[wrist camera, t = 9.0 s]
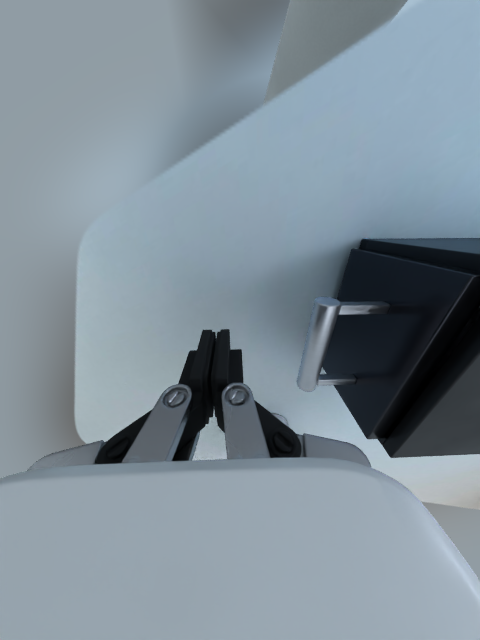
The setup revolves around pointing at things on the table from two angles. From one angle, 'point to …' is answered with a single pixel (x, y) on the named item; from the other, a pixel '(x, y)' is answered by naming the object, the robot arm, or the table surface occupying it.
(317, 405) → the table surface
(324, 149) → the table surface
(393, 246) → the black drawer cabinet
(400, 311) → the open pull-out drawer
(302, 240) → the table surface
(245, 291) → the table surface
